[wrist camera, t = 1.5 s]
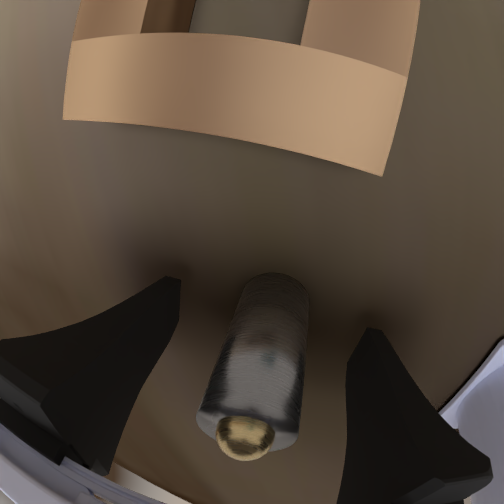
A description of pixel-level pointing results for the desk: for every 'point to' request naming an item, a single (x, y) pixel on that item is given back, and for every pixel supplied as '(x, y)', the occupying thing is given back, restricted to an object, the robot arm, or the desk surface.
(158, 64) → the bead block
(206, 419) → the gold topped grey cylinder
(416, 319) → the desk surface
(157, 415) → the desk surface
